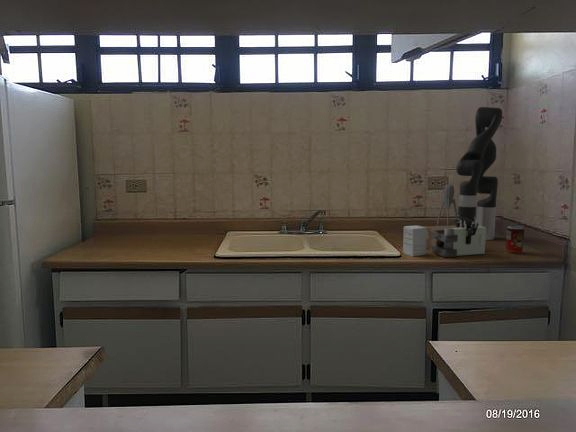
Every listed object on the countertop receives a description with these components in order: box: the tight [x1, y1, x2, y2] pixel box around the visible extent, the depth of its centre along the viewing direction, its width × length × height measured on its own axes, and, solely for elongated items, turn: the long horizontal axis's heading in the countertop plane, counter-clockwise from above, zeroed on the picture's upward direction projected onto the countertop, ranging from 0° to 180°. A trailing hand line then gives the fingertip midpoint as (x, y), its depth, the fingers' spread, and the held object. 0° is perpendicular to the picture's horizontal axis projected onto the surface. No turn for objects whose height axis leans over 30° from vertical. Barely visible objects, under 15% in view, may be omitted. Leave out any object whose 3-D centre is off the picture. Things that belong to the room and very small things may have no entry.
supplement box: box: [402, 225, 427, 257], centre depth 201 cm, size 7×7×13 cm
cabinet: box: [424, 224, 460, 258], centre depth 206 cm, size 21×22×10 cm
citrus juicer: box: [436, 183, 459, 226], centre depth 225 cm, size 11×10×30 cm
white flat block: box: [444, 226, 486, 257], centre depth 199 cm, size 4×20×12 cm, turn 104°
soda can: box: [505, 224, 525, 255], centre depth 204 cm, size 7×7×12 cm
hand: (465, 243), depth 200 cm, fingers closed on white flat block, 3 cm apart
